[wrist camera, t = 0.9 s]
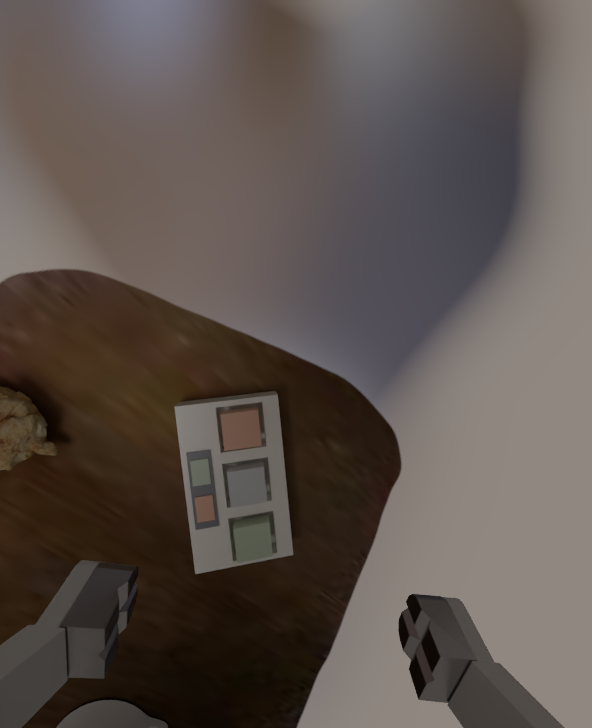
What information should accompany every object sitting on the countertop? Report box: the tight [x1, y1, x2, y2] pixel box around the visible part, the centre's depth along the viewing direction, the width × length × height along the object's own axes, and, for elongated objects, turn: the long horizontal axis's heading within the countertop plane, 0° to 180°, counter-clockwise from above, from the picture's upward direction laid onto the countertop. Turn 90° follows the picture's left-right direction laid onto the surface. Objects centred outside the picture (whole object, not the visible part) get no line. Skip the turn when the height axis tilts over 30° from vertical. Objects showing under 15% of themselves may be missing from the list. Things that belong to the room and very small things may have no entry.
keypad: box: [175, 391, 293, 574], centre depth 45 cm, size 24×14×4 cm, turn 5°
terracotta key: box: [220, 407, 262, 451], centre depth 43 cm, size 5×5×2 cm
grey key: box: [227, 462, 267, 508], centre depth 44 cm, size 5×5×2 cm
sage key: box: [233, 515, 273, 563], centre depth 44 cm, size 5×5×2 cm
